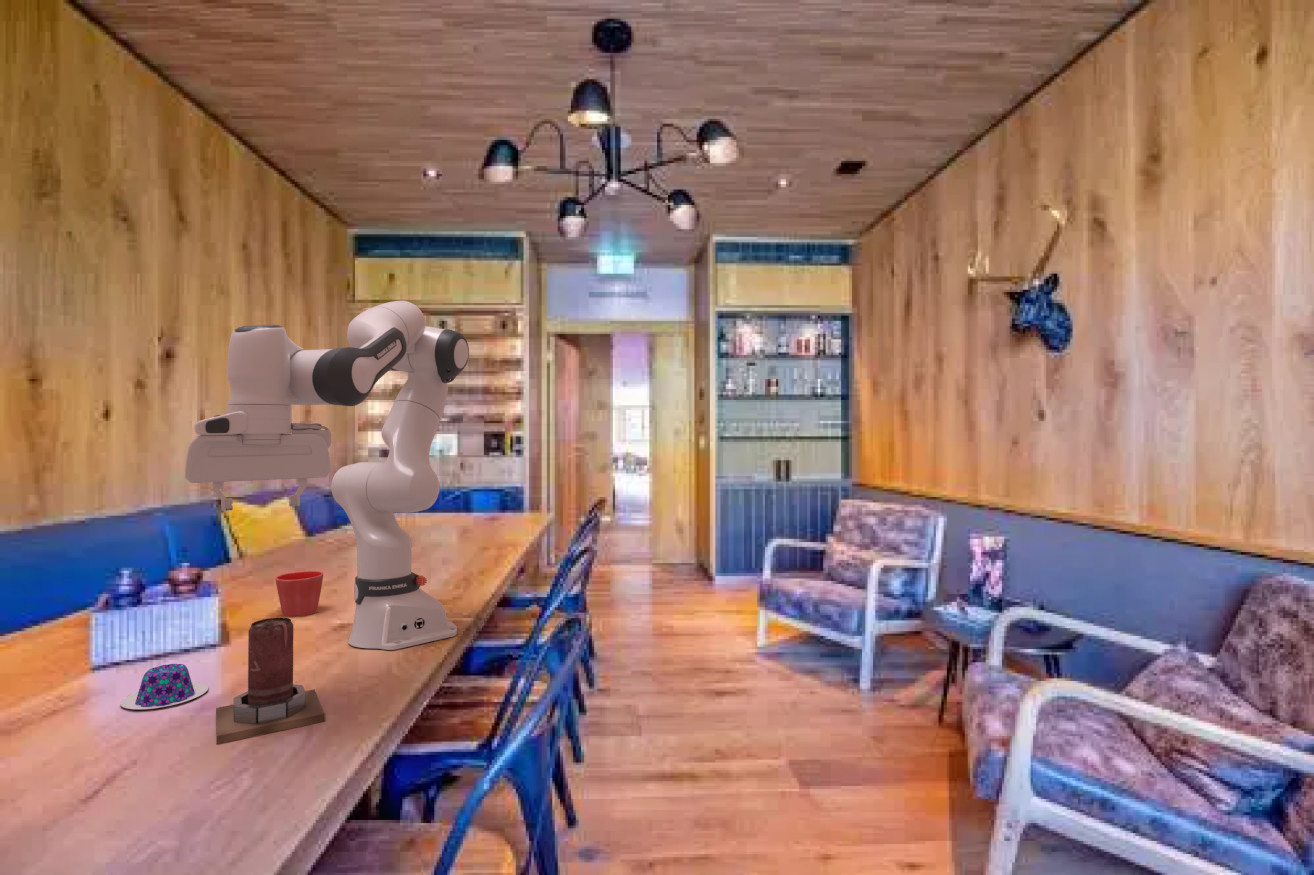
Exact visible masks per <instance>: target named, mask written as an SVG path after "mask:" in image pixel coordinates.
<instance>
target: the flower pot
mask: <svg viewBox="0 0 1314 875" xmlns="http://www.w3.org/2000/svg"><path fill="white" fill-rule="evenodd" d="M323 580H324V572H322V571H315V570H312V571H311V570H310V571H309V570H308V571H305V570H304V571H295V572H289V573H283V574H280V575H277V576H276V577H275V585H276V590H277V596H278V600H279V604H280V609H281V614H282V616H284V618H298V617H306V616H309V615H313V614H315V613H317V612H318V609H319V604H320V603H319V602H320V598H321V593H322V586H323Z"/></svg>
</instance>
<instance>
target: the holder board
mask: <svg viewBox="0 0 1314 875" xmlns="http://www.w3.org/2000/svg"><path fill="white" fill-rule="evenodd" d="M305 692H306V708H305V709H303V710H301V711H299V712H298V713H296V714H294V715H292V716H291V717H289V718H286V719H282V720H277V721H272V722H267V723H262V724H256V725H255V724H245V723H235V722H234V718H233V704H230V705H223V706H218V707H215V734H216V735H215V737H216V738H215V739H216V745H221V744H224V743H229V742H230V743H231V742H234V741H235V742H236V741H238V740H244V739H247V738H252V737H256V736H257V737H258V736H262V735H263V736H264V735H267V734H272V733H275V732H276V733H278V732H280V731H285V730H290V729H294V728H295V729H296V728H300V727H304V726H305V727H306V726H307V725H314V724H317V723H322V722H325V720H326V719H325V718H326V717H325V716H326V715H325V710H324V708H323V706H322V704H321V701H320V700H319V697H318V694H317V692H316V690H315V689H309V690H305Z"/></svg>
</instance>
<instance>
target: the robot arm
mask: <svg viewBox="0 0 1314 875" xmlns="http://www.w3.org/2000/svg"><path fill="white" fill-rule="evenodd" d="M426 324H427V323H426V319H425V316H424V314H423V312H422V310H421V309H420V308H419V307H418V306H417V305H416V304H414V303H412V302H409V301H407V300H395V301H393V300H392V301H389V302H385V303H381V304H378V305H375V306H372V307H371V308H369V309H366V310H364V311H363V312H361V313H359V314H358V315H357V316H355V317H354V318H353V319H352V320H351V321H350V322H349V324H348V326H347V333H346V336H347V343H348V345H349V346H347V347H338V348H328V349H327V348H322V349H305V348H303V346H302V347H301V346H300V345H298V344H297V343H295V342H294V341H293V340H292V339H291V338H290V337H289V336H288V335H287V334H288V333H287V330H286V328H285V327H284V326H282V325H279V324H260V325H259V324H257V325H242V326H239V327H237V328H235V329H234V330H233V331H232V333H231V335H230V338H229V343H228V349H227V370H226V371H227V381H228V383H229V388H230V394H229V398H228V401H227V413H225V414H216V415H214V416H213V417H208V418H205V419H201V420H198V421H196V422H195V423H194V432H195V433H196V435H198V436H196V437H194V438H193V439H192V440H191V442H190V443H189V446H188V450H187V453H186V460H185V469H184V470H185V471H184V478H185V479H186V480H187V481H188V482H189V483H191V484H202V483H203V484H204V483H205V484H206V483H212V490H213V491H214V493H215V494H216V496H217V497H218V498H219V499H220V500H221V502H220V503H221V511H222V512H225V511H233V510H234V507H233V502H234V501H233V498H226V496H225V494H224V493H223V492H222V491H221V490H224V489H225V488H224V487H225V486H224V485H225V482H226V483H228V482H251V481H252V482H253V481H270V480H271V481H275V480H295V479H296V485H298V487H297V489H296V491H295V492H294V494H289V495H288V500H289V501H288V506H289V507H300V506H301V496H302V494H303V493H304V491H305V489H306V487H308V479H317V478H320V479H321V478H324V479H325V478H327V477H328V475H329V474H330V473H331V460H330V453H329V448H330V447H331V444H332V434H331V430H330V429H329V428H328V427H327V426H324V425H322V424H321V423H317V422H316V423H302V422H301V423H296V422H294V423H292V406H293V405H295V406H299V405H300V406H303V405H305V406H306V405H307V406H315V405H317V406H318V405H319V406H321V405H323V406H324V405H326V406H327V405H329V406H330V405H333V406H343V407H355V406H358V405H360V404H362V403H363V402H364V401H365V400H366V399H367V398H368V396H369V395H370V394H371V393H372V390H373V389H374V387H375V385H376V384H377V382H378V381H379V380H380V379H382V377H383V376H385V375H386V374H387V373H388V372H389V371H400V372H404V373H407V380H405V383H404V384H403V385H402V386H401V389H400V390H399V392H398V394H397V395H396V397H395V399H394V402H393V404H392V406H391V408H390V410H389V413H388V415H387V417H386V419H385V422H384V423H383V426H382V428H381V432H380V433H381V438H382V440H383V442H384V444H385V445H386V446H387V447H388V448H389V449H388V450H389V451H388V456H387V458H386V460H384V461H382V462H381V461H380V462H379V461H376V462H375V461H361V462H356V463H351V464H348V465H344V466H342V467H340V468H339V469H338V470H337V471H336V472H335V473H334V476H333V477H332V480H331V486H330V490H331V494H332V497H333V499H334V501H335V502H336V503H337V504H338V505H339V506H340V507H341V508H342V509H343V511H344V512H345V514H346V516H347V517H348V519H349V522H350V523H351V527H352V529H353V532H354V537H355V541H356V561H357V563H356V564H357V565H356V566H357V568H356V569H357V572H356V573H357V574H356V576H355V578H354V588H353V589H354V590H353V591H354V594H353V595H354V596H353V597H354V599H353V600H354V603H355V610H354V611H355V612H354V619H353V624H352V628H351V632H350V636H349V639H348V644H349V645H350V646H352V647H356V648H361V649H379V650H380V649H381V650H387V651H396V650H400V649H403V648H407V647H409V648H410V647H413V646H417V645H421V644H425V643H429V642H433V641H439V640H443V639H449V638H452V637H455V636H456V635H457V634H458V627H457V626H456V624H455V623H453V622H452V621H450V620H448V618H447V612H446V609H445V606H444V605H443V603H442V602H440V601H439V600H438V599H436V598H435V597H434V596H432V595H431V594H429V593H427V592H426V591H425V590H423V589H421V588H420V587H424V586H426V584H427V582H428V579H427V578H426V576H424V575H420V574H417V573H415V572H412V538H411V537H410V535H409V534H408V533H407V532H406V531H405V530H404V529H402V527H401V526H400V525H399V523H398V520H397V519H396V515H395V513H397V514H400V513H401V514H410V513H411V514H412V513H417V512H422V511H426V510H428V509H430V508H431V507H432V506H433V505H434V504H435V503H436V501H437V499H438V498H439V494H440V481H439V477H438V475H437V473H436V472H435V471H434V470H433V467H432V466H431V463H430V451H431V446H432V443H433V441H434V438H435V435H436V432H437V430H438V427H439V425H440V422H441V419H442V416H443V413H444V411H445V407H446V402H447V397H448V391H449V388H448V384H450V383H452V382H453V381H454V380H456V377H457V376H458V375H460V374H461V373H462V372H463V371H464V369H465V368H466V366H467V365H468V361H469V357H470V356H469V355H470V350H469V349H470V348H469V343H468V340H467V339H466V337H465V336H464V335H463V333H461V332H458V331H456V330H452V329H450V328H449V329H448V328H446V329H443V328H439V327H433V326H427V325H426Z"/></svg>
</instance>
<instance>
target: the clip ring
mask: <svg viewBox="0 0 1314 875" xmlns="http://www.w3.org/2000/svg"><path fill="white" fill-rule="evenodd" d="M305 691H306V690H305V687H304V685H302V684H294V683H293V696H292V697H291V698H289V699H287V700H285V701H282V702H277V703H271V704H266V705H261V706H257V705H248V690H247V691H245V692H243V693H240V694H238V695H236V696H234V698H232V700H233V701H232V703H233V704H232V705H233V718H234V722H235V723H245V724H255V725H256V724H262V723H267V722H272V721H277V720H282V719H286V718H289V717H291V716H292V715H294V714H296V713H298V712H299V711H301V710H303V709H305V708H306V692H305Z"/></svg>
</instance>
